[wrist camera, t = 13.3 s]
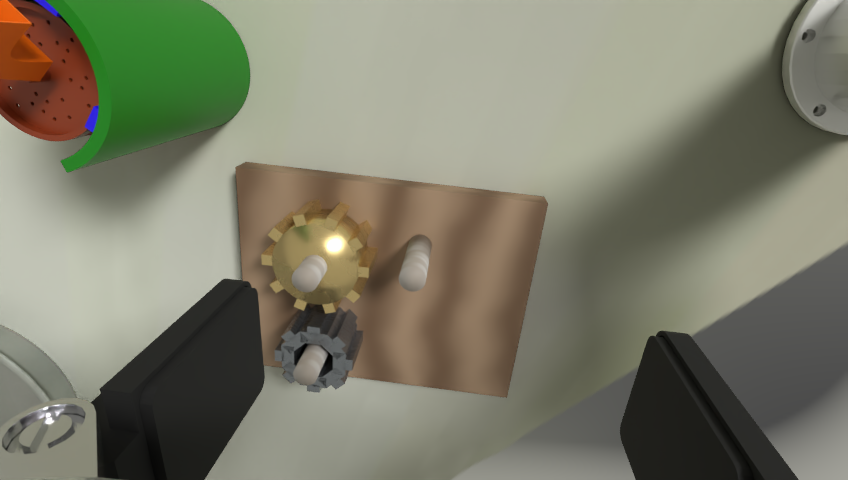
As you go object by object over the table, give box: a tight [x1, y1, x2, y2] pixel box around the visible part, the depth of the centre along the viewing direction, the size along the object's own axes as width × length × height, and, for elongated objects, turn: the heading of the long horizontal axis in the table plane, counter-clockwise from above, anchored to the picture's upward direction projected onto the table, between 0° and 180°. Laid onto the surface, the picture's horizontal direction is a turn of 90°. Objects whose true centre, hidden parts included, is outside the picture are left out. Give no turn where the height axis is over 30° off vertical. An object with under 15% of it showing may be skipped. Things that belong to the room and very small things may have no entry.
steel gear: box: [275, 304, 363, 392], centre depth 41 cm, size 7×7×4 cm
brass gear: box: [261, 199, 378, 314], centre depth 38 cm, size 9×8×4 cm
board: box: [236, 162, 548, 397], centre depth 39 cm, size 26×20×8 cm
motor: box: [0, 0, 250, 172], centre depth 28 cm, size 10×9×20 cm
